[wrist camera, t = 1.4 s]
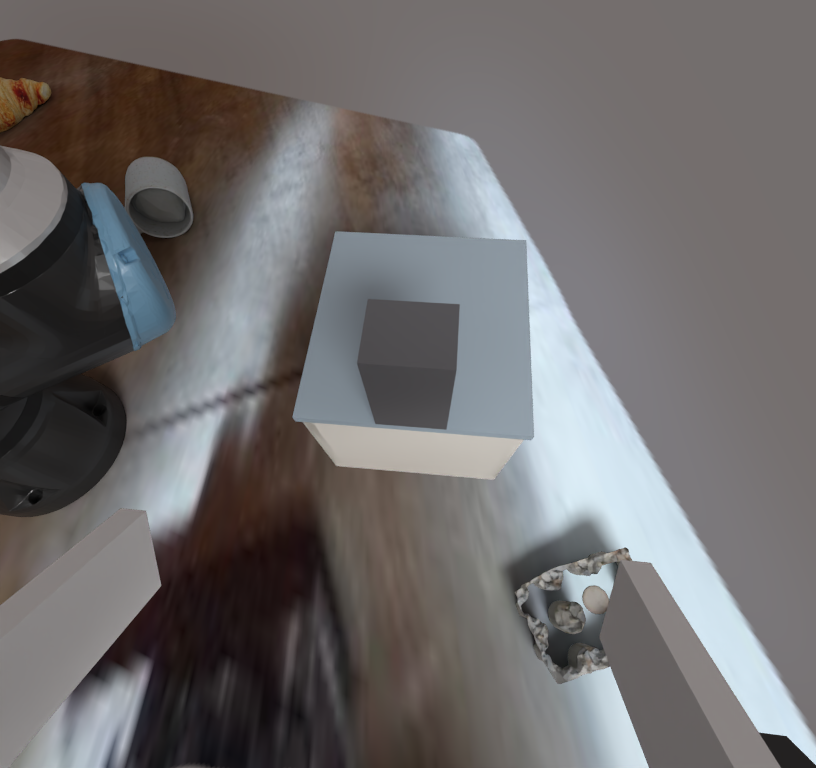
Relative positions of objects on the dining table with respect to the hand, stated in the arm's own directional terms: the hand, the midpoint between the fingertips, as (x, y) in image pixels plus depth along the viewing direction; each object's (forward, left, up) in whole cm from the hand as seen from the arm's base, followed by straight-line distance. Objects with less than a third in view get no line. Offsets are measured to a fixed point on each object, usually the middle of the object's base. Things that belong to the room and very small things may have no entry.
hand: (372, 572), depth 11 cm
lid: (-5, +18, -15) cm, 24 cm away
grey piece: (+15, +3, -29) cm, 33 cm away
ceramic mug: (-48, +30, -29) cm, 64 cm away
